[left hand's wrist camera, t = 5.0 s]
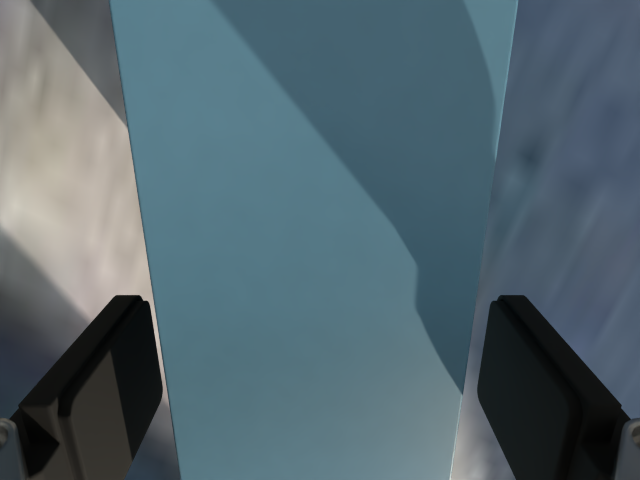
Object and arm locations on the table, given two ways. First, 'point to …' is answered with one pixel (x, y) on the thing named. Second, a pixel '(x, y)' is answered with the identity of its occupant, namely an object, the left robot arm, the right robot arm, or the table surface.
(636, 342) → the table surface
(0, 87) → the table surface
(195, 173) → the cabinet
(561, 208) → the table surface
